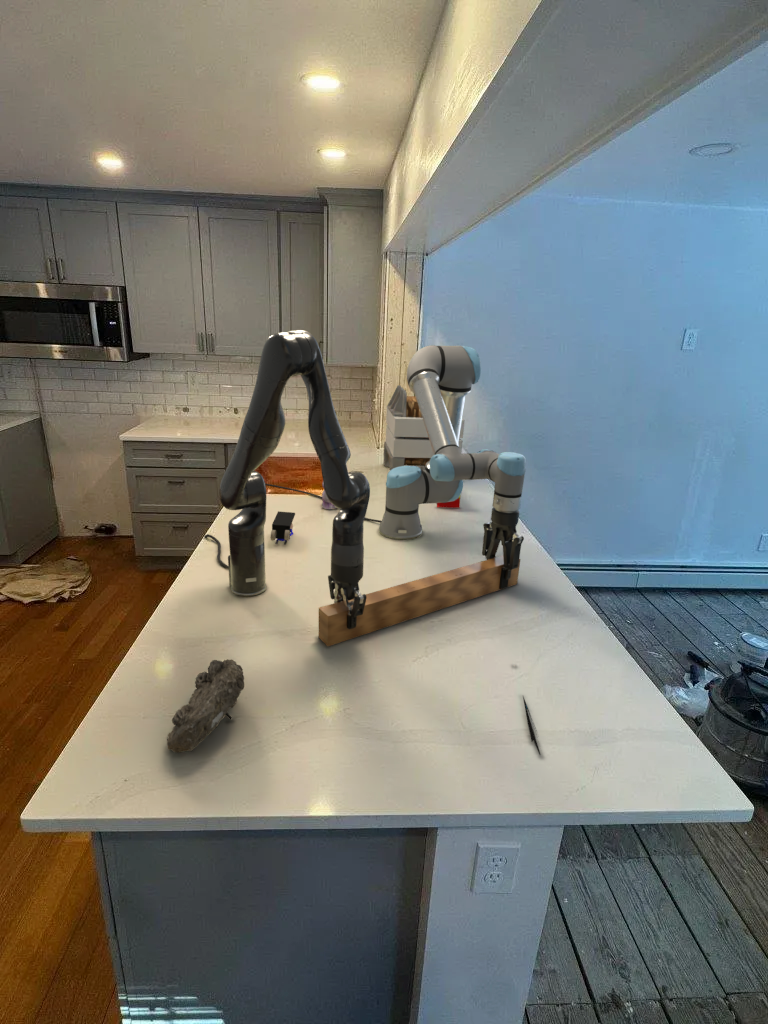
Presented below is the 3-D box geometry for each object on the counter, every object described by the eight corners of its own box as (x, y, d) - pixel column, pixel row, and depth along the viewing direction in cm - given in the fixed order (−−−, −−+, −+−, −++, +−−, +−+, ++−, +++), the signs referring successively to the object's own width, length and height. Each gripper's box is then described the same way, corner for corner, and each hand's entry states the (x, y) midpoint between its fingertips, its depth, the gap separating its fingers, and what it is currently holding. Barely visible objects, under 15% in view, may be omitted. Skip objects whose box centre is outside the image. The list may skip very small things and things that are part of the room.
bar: (505, 577, 170) (508, 553, 168) (517, 584, 167) (520, 559, 164) (318, 637, 136) (318, 607, 133) (327, 646, 132) (328, 616, 129)
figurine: (325, 511, 218) (326, 473, 213) (316, 503, 226) (316, 467, 221) (348, 508, 222) (349, 471, 217) (337, 500, 231) (338, 465, 225)
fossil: (192, 660, 117) (244, 628, 112) (224, 691, 120) (276, 661, 115) (142, 746, 98) (202, 712, 93) (182, 779, 101) (242, 748, 96)
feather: (514, 670, 128) (520, 664, 128) (540, 759, 101) (547, 752, 101) (508, 666, 128) (514, 660, 127) (532, 755, 101) (539, 747, 101)
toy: (454, 466, 253) (465, 475, 223) (452, 495, 255) (463, 509, 226) (427, 465, 252) (435, 474, 223) (425, 494, 255) (433, 508, 226)
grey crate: (382, 463, 289) (386, 382, 275) (445, 464, 293) (451, 384, 279) (390, 482, 257) (394, 392, 243) (460, 483, 261) (468, 394, 247)
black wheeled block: (290, 551, 185) (296, 529, 198) (289, 530, 182) (295, 510, 195) (270, 550, 185) (277, 528, 198) (268, 530, 181) (276, 509, 195)
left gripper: (317, 550, 134) (317, 613, 140) (349, 573, 123) (347, 641, 129) (345, 544, 138) (344, 606, 144) (378, 566, 127) (375, 632, 133)
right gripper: (473, 501, 162) (466, 575, 170) (520, 521, 148) (509, 600, 156) (492, 497, 166) (484, 569, 174) (539, 516, 152) (528, 593, 160)
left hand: (345, 622), depth 136 cm, fingers closed on bar, 4 cm apart
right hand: (496, 584), depth 165 cm, fingers closed on bar, 5 cm apart
